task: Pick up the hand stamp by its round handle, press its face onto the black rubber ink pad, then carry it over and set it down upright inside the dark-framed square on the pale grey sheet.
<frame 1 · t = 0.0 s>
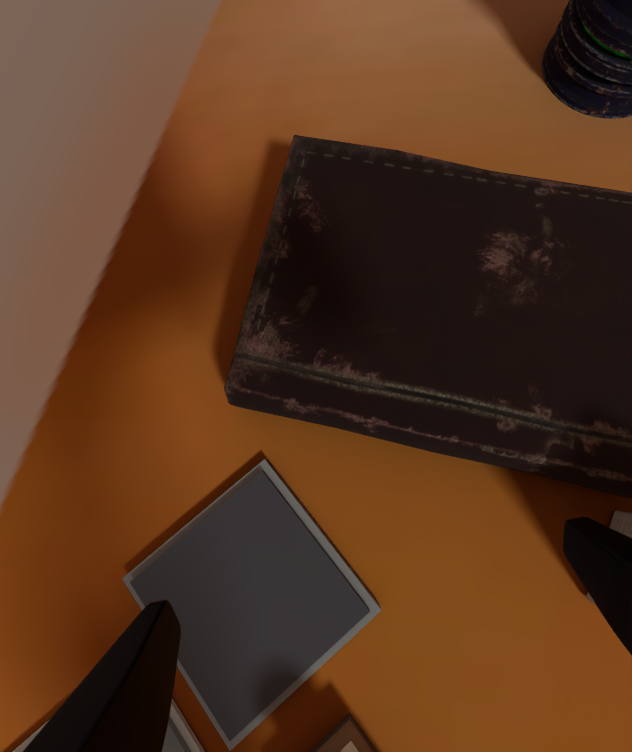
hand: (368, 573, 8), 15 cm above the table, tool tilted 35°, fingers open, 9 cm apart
ink pad: (250, 590, 22), on the table
storage jar: (602, 71, 29), on the table
diary: (443, 321, 25), on the table
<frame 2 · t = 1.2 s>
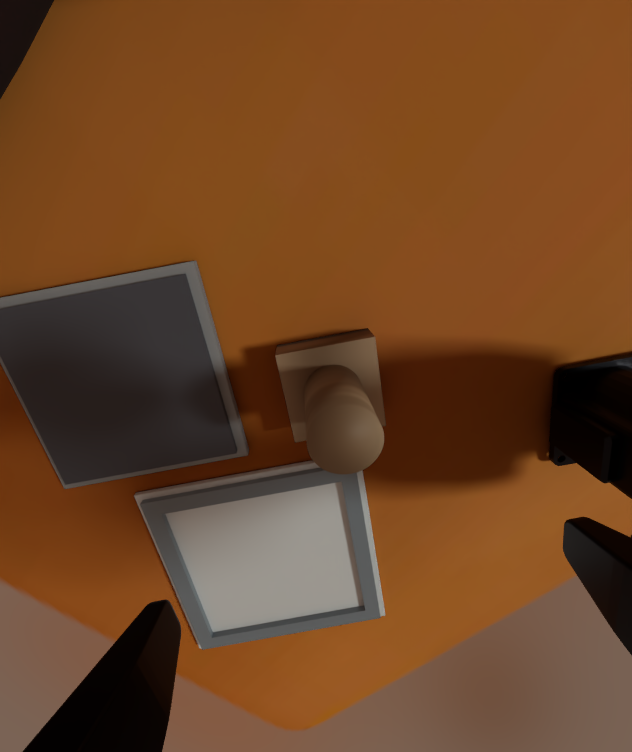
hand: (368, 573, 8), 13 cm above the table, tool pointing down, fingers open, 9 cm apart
ink pad: (127, 382, 20), on the table
stamp: (329, 378, 20), on the table
print sheet: (271, 557, 24), on the table
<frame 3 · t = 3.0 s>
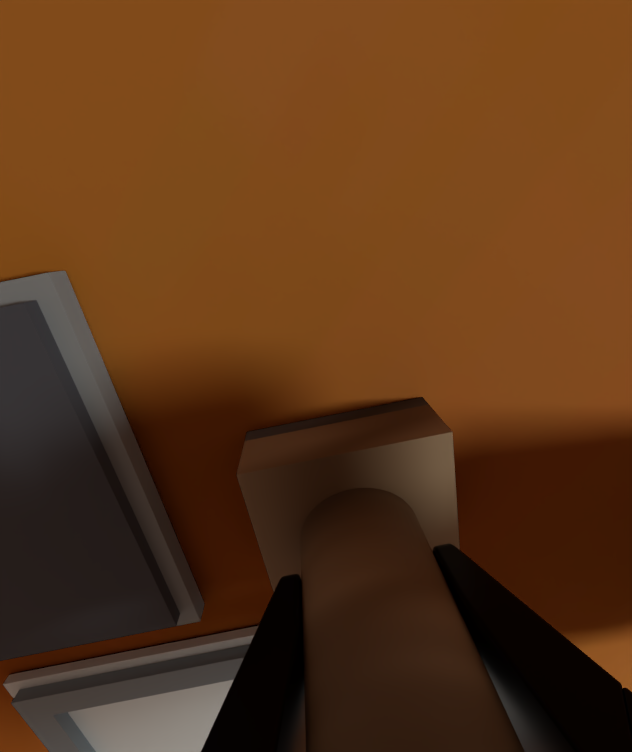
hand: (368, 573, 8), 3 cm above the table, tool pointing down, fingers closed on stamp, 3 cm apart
stamp: (348, 487, 11), on the table, touching gripper
print sheet: (252, 748, 15), on the table
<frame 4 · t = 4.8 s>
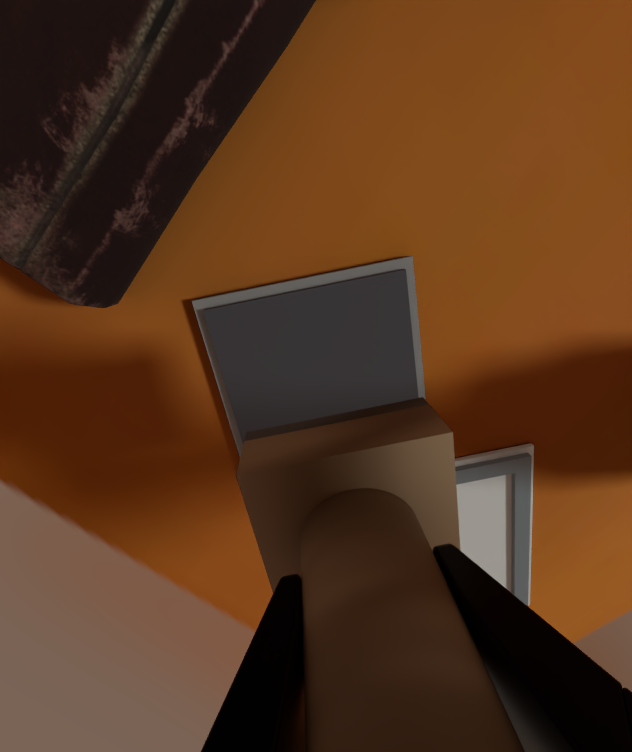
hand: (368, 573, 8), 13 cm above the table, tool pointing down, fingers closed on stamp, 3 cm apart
ink pad: (321, 378, 20), on the table
stamp: (348, 487, 11), point 10 cm above the table, touching gripper
print sheet: (429, 549, 25), on the table
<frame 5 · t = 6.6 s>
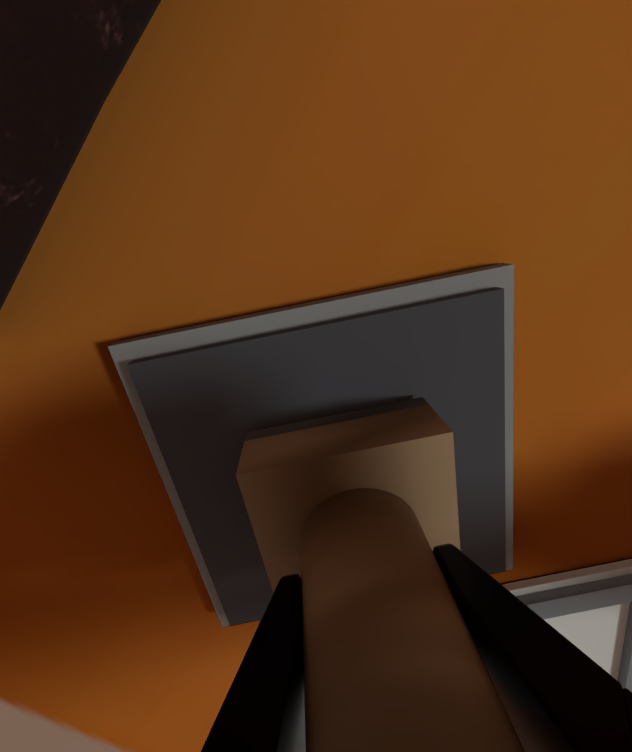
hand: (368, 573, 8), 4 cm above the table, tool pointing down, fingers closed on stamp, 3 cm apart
ink pad: (341, 465, 12), on the table
stamp: (348, 487, 11), point 1 cm above the table, touching gripper
print sheet: (494, 693, 17), on the table
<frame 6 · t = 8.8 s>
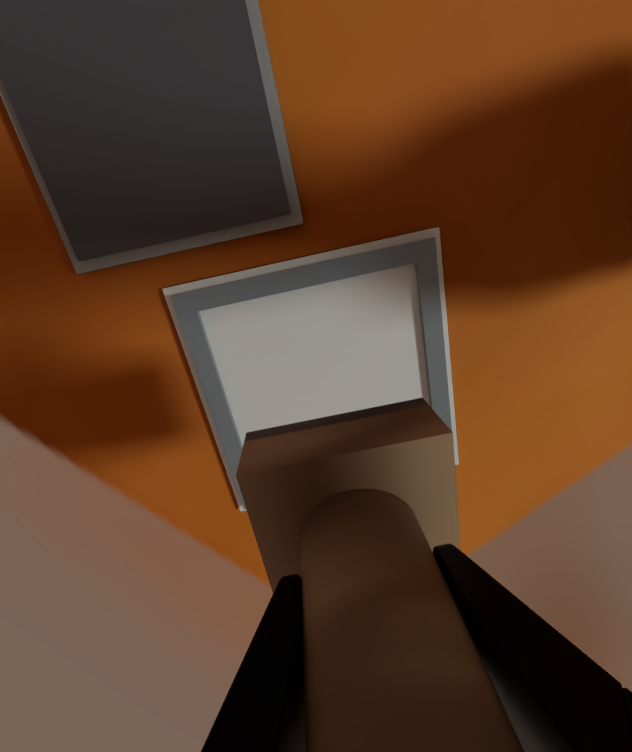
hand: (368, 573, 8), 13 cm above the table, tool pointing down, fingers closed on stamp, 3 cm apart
ink pad: (152, 117, 16), on the table
stamp: (348, 488, 11), point 10 cm above the table, touching gripper
print sheet: (327, 384, 20), on the table
when the fingers open (4 cm above the table, at t = 10.6 s): stamp drops 1 cm, resting on print sheet.
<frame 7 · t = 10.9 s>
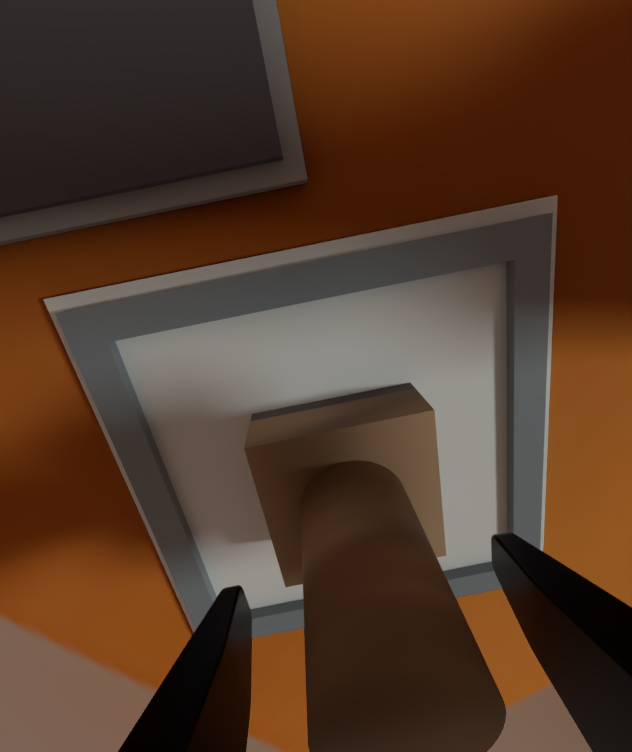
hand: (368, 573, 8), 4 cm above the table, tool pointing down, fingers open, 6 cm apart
stamp: (343, 465, 12), resting on print sheet
print sheet: (341, 461, 12), on the table
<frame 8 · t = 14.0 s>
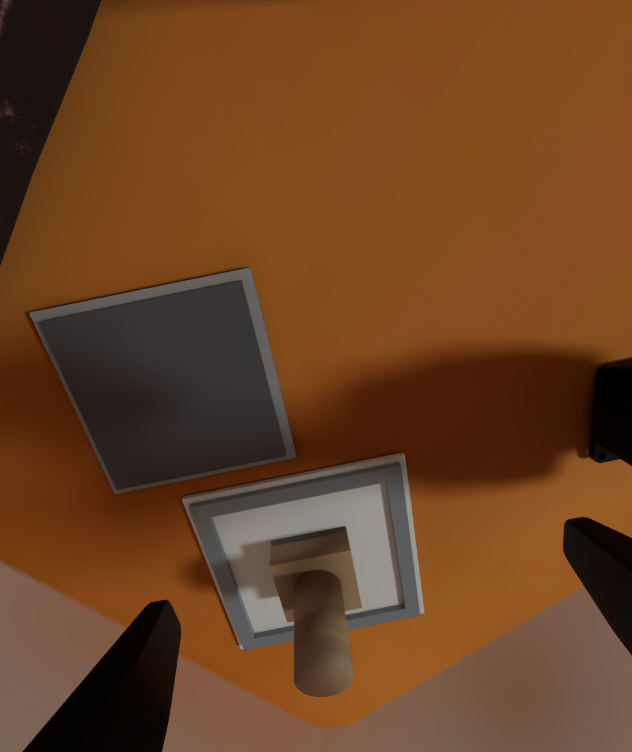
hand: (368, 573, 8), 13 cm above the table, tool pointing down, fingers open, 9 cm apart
ink pad: (178, 388, 20), on the table
stamp: (315, 561, 24), resting on print sheet
print sheet: (314, 558, 25), on the table
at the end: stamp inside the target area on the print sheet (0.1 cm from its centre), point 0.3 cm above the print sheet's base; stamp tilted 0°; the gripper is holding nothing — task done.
